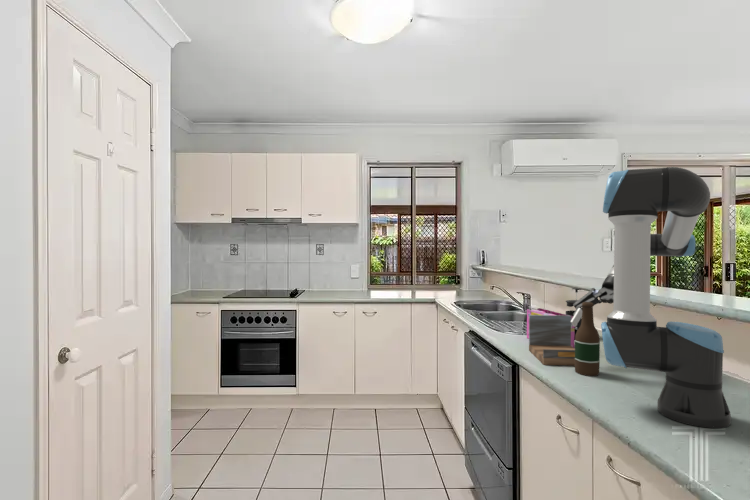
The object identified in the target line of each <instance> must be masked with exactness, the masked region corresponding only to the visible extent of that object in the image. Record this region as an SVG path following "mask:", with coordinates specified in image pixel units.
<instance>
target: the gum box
mask: <svg viewBox="0 0 750 500" xmlns="http://www.w3.org/2000/svg"><path fill="white" fill-rule="evenodd" d="M529 315H563V316H570V315H566V313H561V312H557V311H554V310H553V311H552V310H549V309H545V308H541V307H540V308H539V307H537V309H529V308H527V309H526V339H528V340H529ZM572 318H573V316H571V320H572ZM575 329H576V327H574V326H573V325H572V323H571V346H572V347H573V348H575V340H574V336H575Z"/></svg>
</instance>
